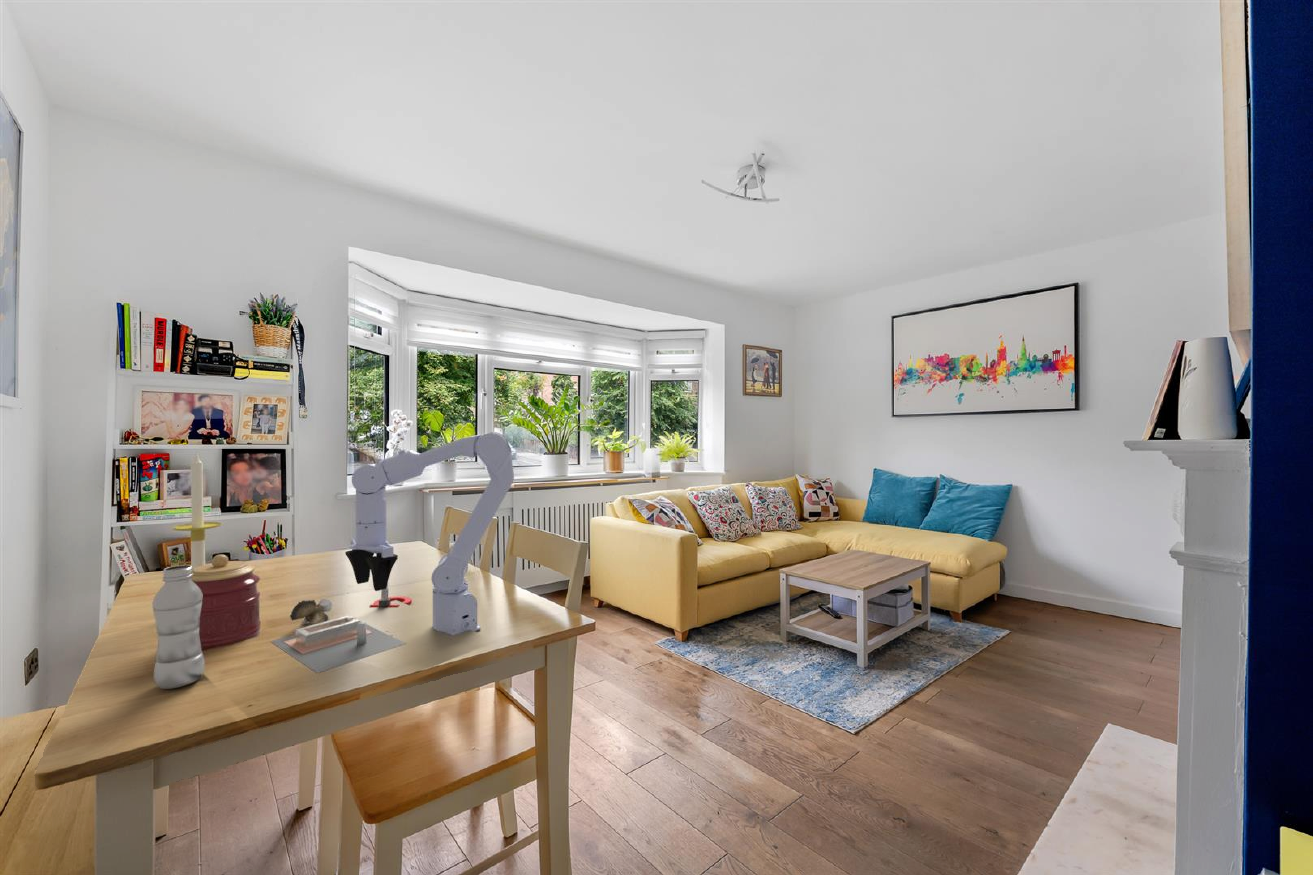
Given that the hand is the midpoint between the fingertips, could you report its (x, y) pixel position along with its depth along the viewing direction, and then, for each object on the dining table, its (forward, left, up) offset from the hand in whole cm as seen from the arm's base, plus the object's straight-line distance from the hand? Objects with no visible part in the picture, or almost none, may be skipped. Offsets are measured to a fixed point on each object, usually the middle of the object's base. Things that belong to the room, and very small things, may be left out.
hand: (371, 586), depth 113 cm
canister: (+21, +20, -11) cm, 31 cm away
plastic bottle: (+4, +30, -11) cm, 32 cm away
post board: (-1, +7, -10) cm, 13 cm away
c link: (+3, +7, -9) cm, 12 cm away
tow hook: (+15, -12, -11) cm, 22 cm away
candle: (+45, +18, -11) cm, 50 cm away
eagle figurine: (+15, +6, -11) cm, 19 cm away
